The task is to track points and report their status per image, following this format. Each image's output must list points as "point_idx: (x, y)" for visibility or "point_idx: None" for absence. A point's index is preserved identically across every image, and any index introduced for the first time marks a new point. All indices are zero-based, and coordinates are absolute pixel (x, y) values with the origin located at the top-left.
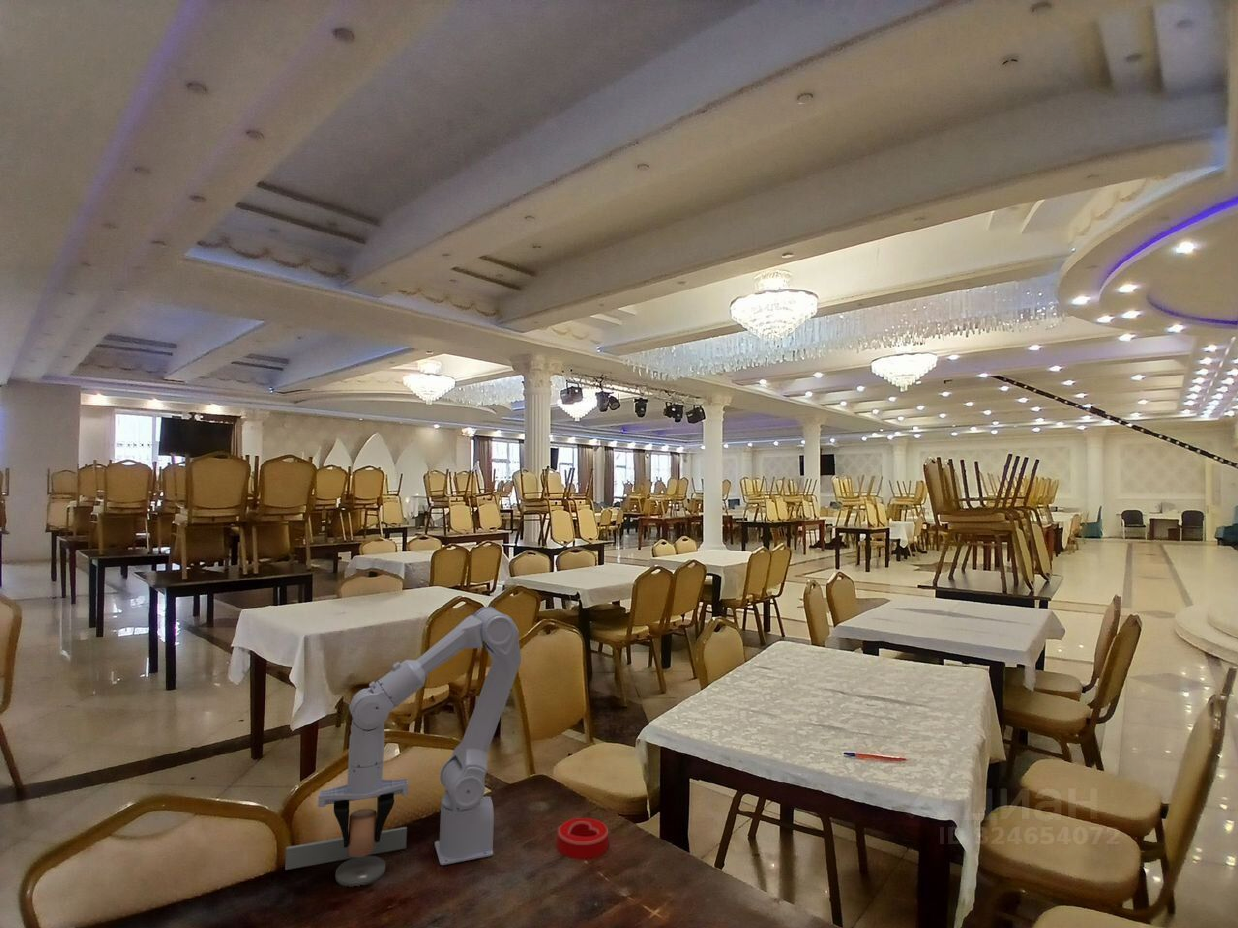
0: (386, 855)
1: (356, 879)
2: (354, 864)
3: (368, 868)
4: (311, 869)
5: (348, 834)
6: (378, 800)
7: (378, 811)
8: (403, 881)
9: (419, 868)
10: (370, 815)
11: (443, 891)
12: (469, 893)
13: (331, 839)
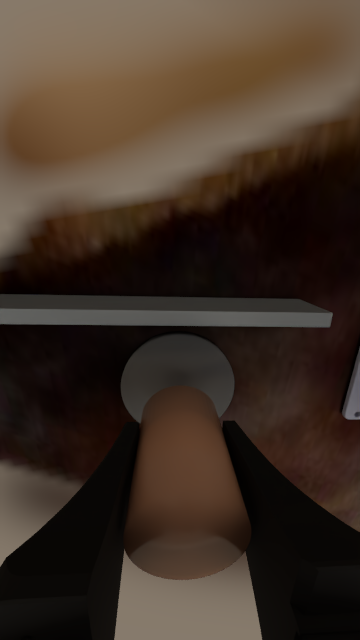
0: (243, 327)
1: None
2: (164, 367)
3: None
4: (62, 326)
5: (134, 461)
6: (282, 629)
7: (258, 588)
8: (256, 437)
9: (298, 405)
10: (219, 552)
11: (313, 484)
12: (349, 499)
13: (88, 309)
